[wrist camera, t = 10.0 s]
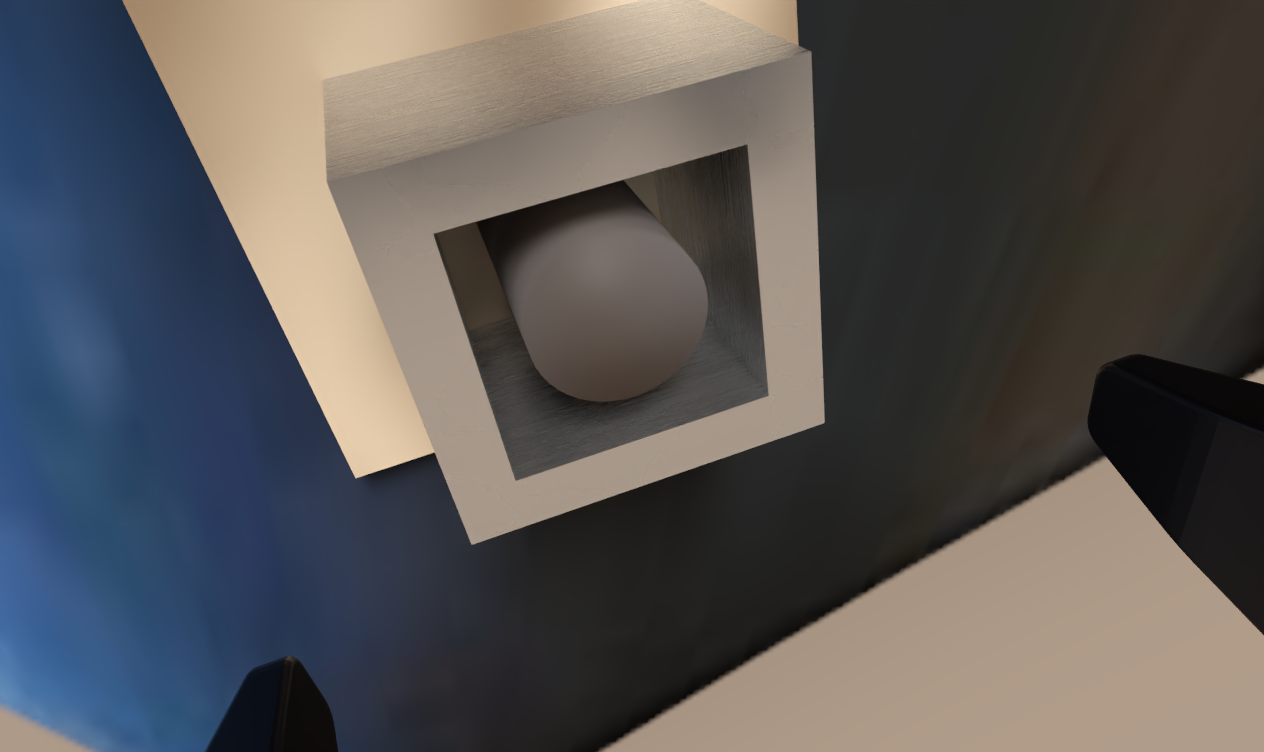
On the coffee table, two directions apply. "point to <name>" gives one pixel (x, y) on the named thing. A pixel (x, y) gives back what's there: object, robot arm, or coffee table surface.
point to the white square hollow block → (567, 164)
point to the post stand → (475, 253)
